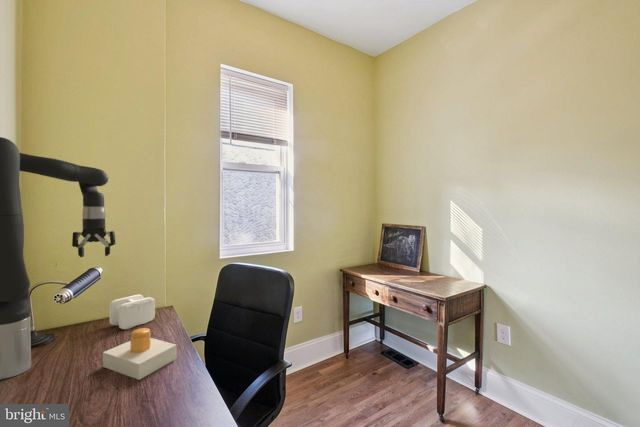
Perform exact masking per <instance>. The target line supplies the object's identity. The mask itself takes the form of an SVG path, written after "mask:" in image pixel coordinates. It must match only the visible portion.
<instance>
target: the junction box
mask: <svg viewBox="0 0 640 427" xmlns="http://www.w3.org/2000/svg"><path fill="white" fill-rule="evenodd" d="M177 349H178V348H177V344H175V343H171V342H167V341H164V340H161V339H156V338H153V337H151V346H150V349H148V350H146V351H144V352H138V353H134V352H131V346H130V340H129V341H126V342H124V343H122V344H120V345H117V346H115V347H112V348H110V349H107V350H105V351H103V352H102V360H103V361H102V364H103V365H102V367H103V368H106V369H108V370H112V371H113V372H116V373H119V374H122V375H124V376H127V377H130V378H132V379H136V380H139V381H140V380H142V379H143V378H145V377H146V376H149V375H150V374H152V373H154V372H155V371H157V370H160V369H161V368H163V367H165V366H167V365H168V364H170V363H171V362H174V361H175V360H177V359H178V358H177V355H178V354H177V352H178V351H177Z"/></svg>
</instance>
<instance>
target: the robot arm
mask: <svg viewBox="0 0 640 427" xmlns="http://www.w3.org/2000/svg"><path fill="white" fill-rule="evenodd" d="M20 172H23V173H24V172H25V173H30V174H36V175H39V176H44V177H48V178H52V179H57V180H62V181H66V182H73V183H75V182H76V183H78V186H79V189H80V192H81V195H82V212H81V214H82V215H81V216H82V218H81V219H82V220H81V221H82V231H80V232H79V231H74V232H72V243H71V246H72V247H74V248H77V255H78V256H79V258H83V257H84V256H85V247H84V246H85V245H86V244H88V242H89V243H93V242H94V243H99V242H100V243H101V244H103V246H105V247H104V256H105V257H108V256H109V255H110V254H111V246H115V245H116V234H115V233H116V232H115V231H114V230H111V231H107V230H106V209H105V195H104V194H103V193H102V192H99V190H98V187H103V186H105V185H106V184H107V183H108V182H109V176H108V174H107V173H106V172H105V171H104V170H102V169H100V168H96V167H91V166H84V165H79V164H76V163H73V162H68V161H66V160H60V159H57V158H52V157H51V158H50V157H45V156H38V155H33V154H32V155H31V154H27V153H22V152H20V150H19V148H18V147H17V145H16V143H14V142H13V141H12V140H10V139H9V138H6V137H2V136H1V137H0V381H1V380H4V379H9V378H13V377H15V376H19V375H22V374H23V373H26V372H27V371H28V370H30V369H31V367H32V348H31V347H32V346H31V345H32V343H31V340H32V339H31V308H30V296H29V295H30V293H29V292H30V291H29V290H30V287H31V282H30V278H29V275H28V272H27V268H26V264H25V259H24V248H25V247H24V246H25V245H24V243H25V225H24V224H25V222H24V215H23V214H24V213H23V209H22V200H21V196H22V195H21V189H20ZM106 235H107V236H108V237H109V241H110V242H109V241H108V240H107V239H106ZM81 236H82V237H83V239H82V240H81V242H80V243H79V238H80V237H81Z"/></svg>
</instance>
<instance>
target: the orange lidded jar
mask: <svg viewBox="0 0 640 427" xmlns="http://www.w3.org/2000/svg"><path fill="white" fill-rule="evenodd" d="M151 336H152V334H151V329H150V328H147V327H142V328H137V329H135V330H133V331H131V332H130V336H129V338H130V340H129V341H130V346H131V352H134V353H138V352H144V351H146V350H148V349H150V346H151V338H152V337H151Z"/></svg>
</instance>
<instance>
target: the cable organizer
mask: <svg viewBox="0 0 640 427" xmlns="http://www.w3.org/2000/svg"><path fill="white" fill-rule="evenodd" d="M108 306H109V307H108V309H109V311H108V312H109V314H108V315H109V317H108V318H109V324H110V325H112V326H118V328H119V329H122V330H130V329H132V328H134V327H136V326H140V325H144V324H148V323H149V322H151V321H153V320H154V319H155V317H156V316H155V315H156V300H155V298H153V297H151V296H148V297H144V295H142V294H134V295H130V296H125V297H121V298H117V299H113V300H111V302H109V305H108Z"/></svg>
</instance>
